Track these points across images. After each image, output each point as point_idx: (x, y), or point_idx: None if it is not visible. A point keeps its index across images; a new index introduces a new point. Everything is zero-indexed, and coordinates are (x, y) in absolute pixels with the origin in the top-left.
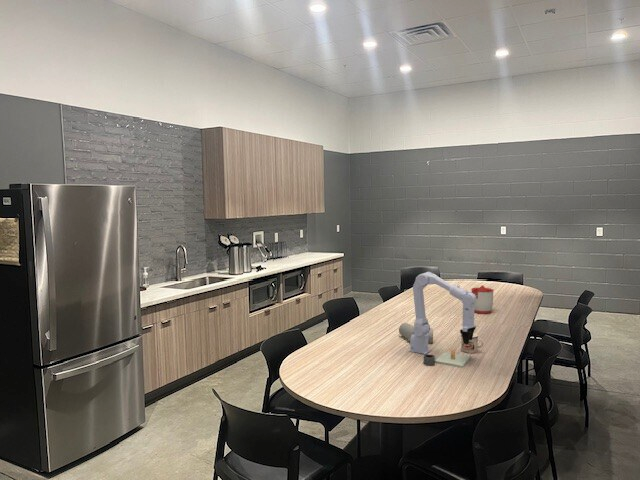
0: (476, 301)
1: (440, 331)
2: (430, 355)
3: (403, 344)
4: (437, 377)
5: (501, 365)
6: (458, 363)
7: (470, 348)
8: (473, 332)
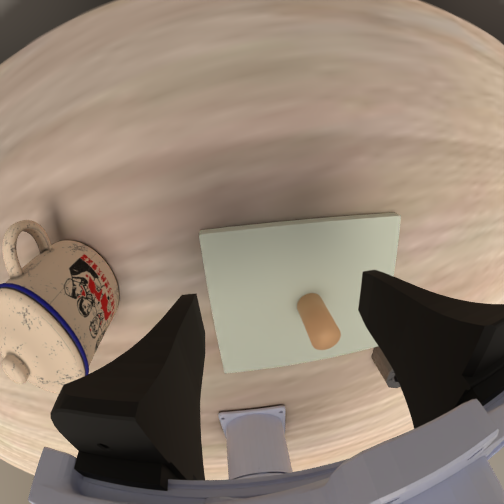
0: None
1: (21, 410)
2: (393, 374)
3: (220, 462)
4: (493, 259)
5: (225, 16)
6: (378, 247)
7: (97, 279)
8: (146, 348)
